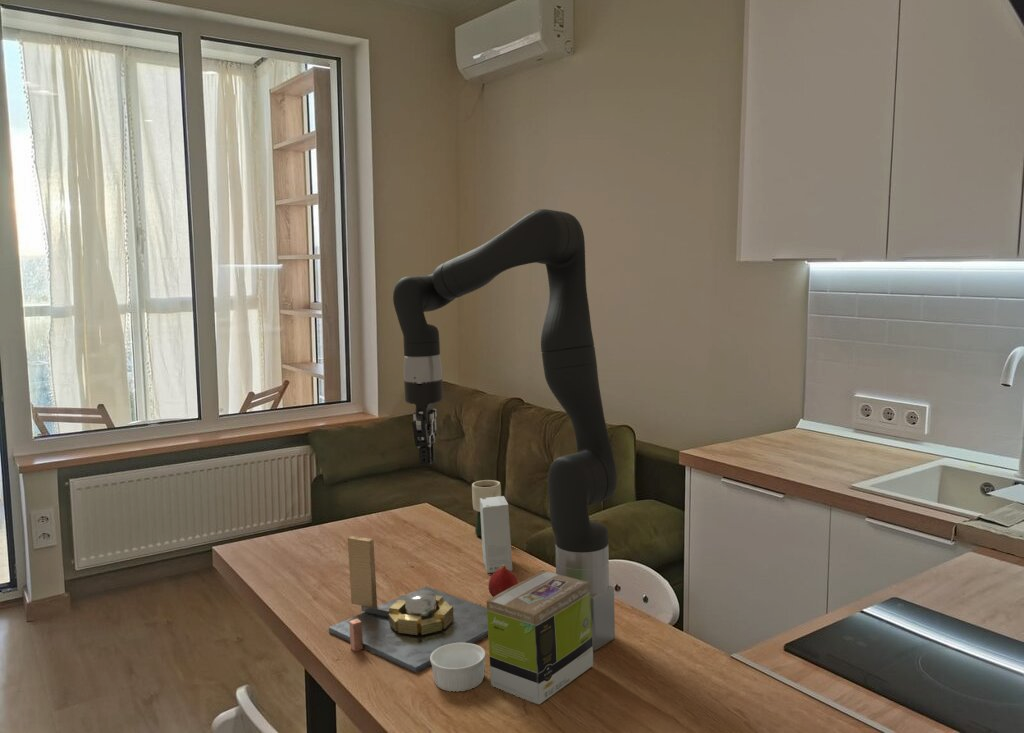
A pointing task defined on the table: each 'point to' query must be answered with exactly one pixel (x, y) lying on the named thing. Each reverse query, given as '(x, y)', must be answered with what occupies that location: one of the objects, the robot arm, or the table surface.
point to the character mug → (483, 491)
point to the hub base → (411, 648)
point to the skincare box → (495, 533)
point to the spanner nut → (408, 624)
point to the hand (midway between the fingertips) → (427, 463)
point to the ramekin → (458, 666)
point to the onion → (501, 581)
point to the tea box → (540, 635)
